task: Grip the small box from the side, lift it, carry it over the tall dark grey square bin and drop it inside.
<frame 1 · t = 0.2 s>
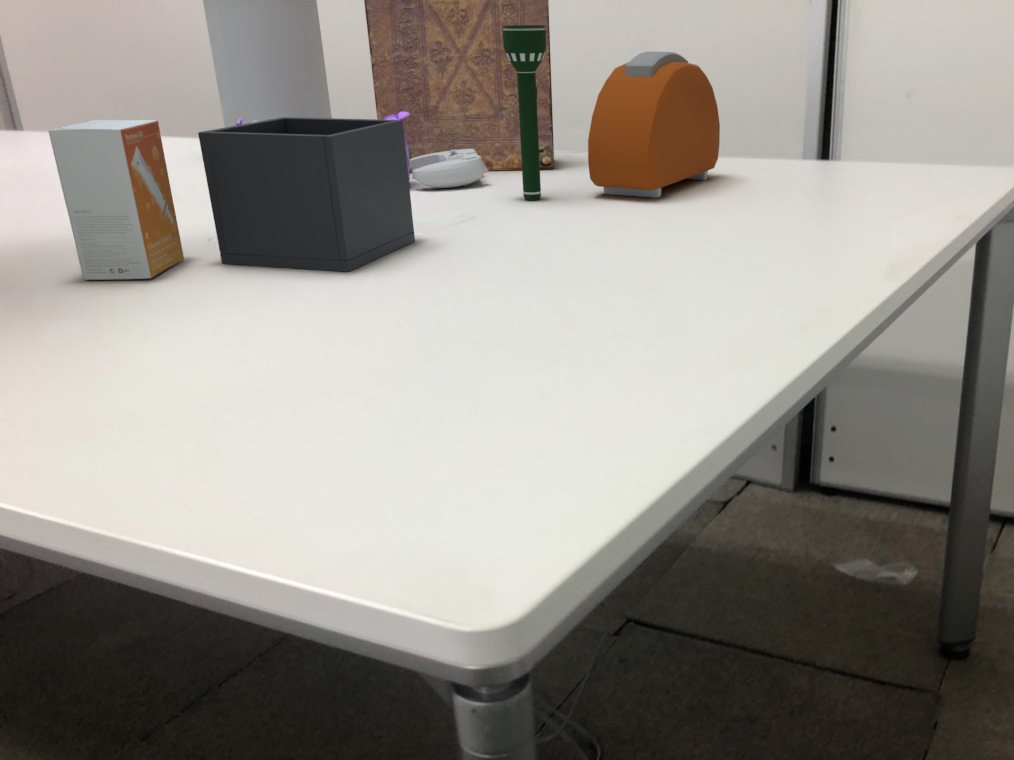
flashlight: (532, 200, 128), on the table
book: (470, 168, 153), on the table
pencil case: (331, 190, 136), on the table
orange toaster: (657, 188, 136), on the table
game controller: (449, 183, 140), on the table
dark grey square bin: (322, 251, 101), on the table
small box: (137, 272, 95), on the table
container: (283, 158, 164), on the table
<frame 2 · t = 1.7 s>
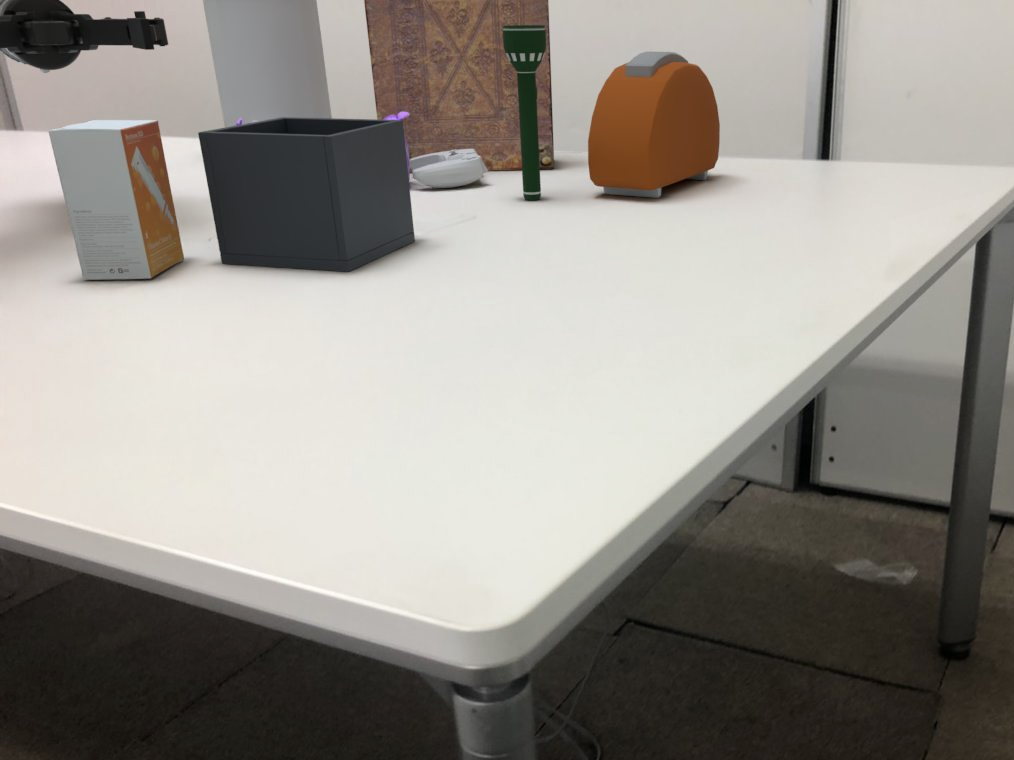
hand: (68, 36, 93), 20 cm above the table, tool horizontal, fingers open, 13 cm apart
nothing on the table moved.
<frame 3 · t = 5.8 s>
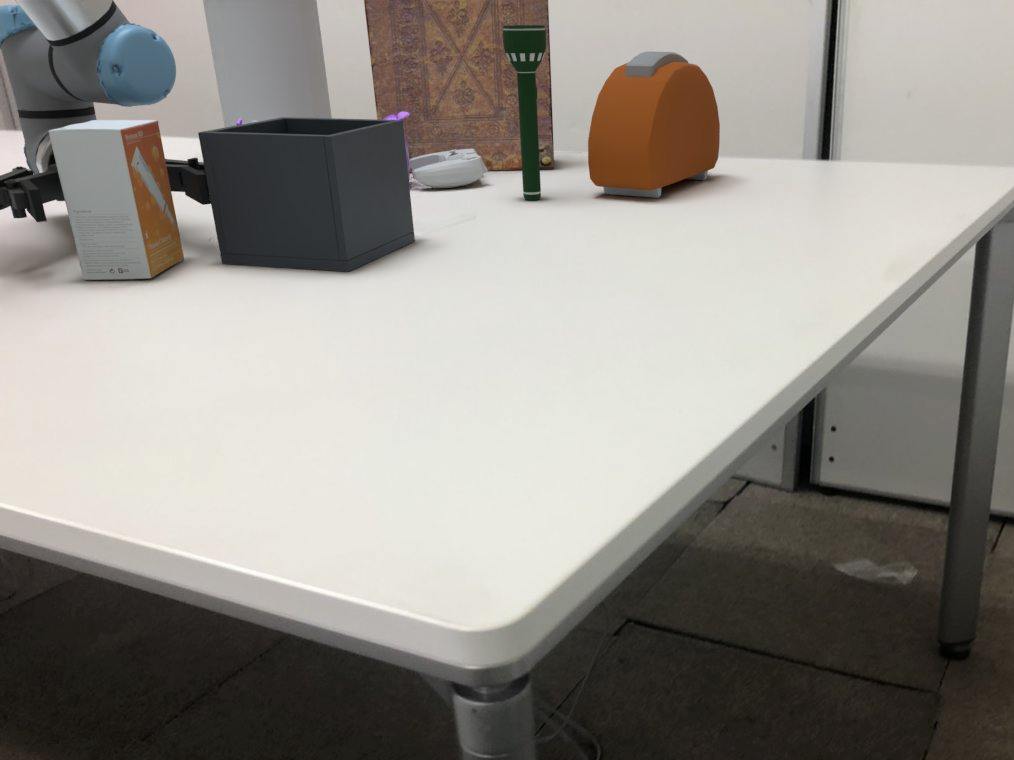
hand: (124, 197, 90), 7 cm above the table, tool horizontal, fingers open, 13 cm apart
nothing on the table moved.
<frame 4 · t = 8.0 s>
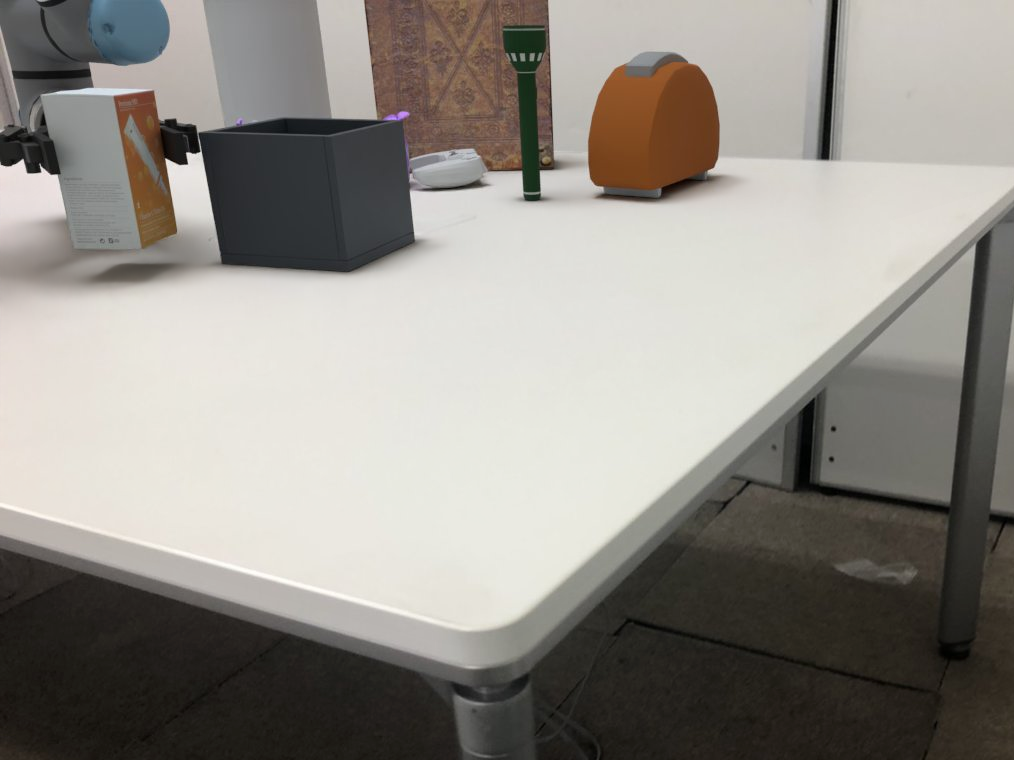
hand: (118, 153, 87), 11 cm above the table, tool horizontal, fingers closed on small box, 9 cm apart
small box: (128, 243, 93), point 3 cm above the table, touching gripper
everything else where it was.
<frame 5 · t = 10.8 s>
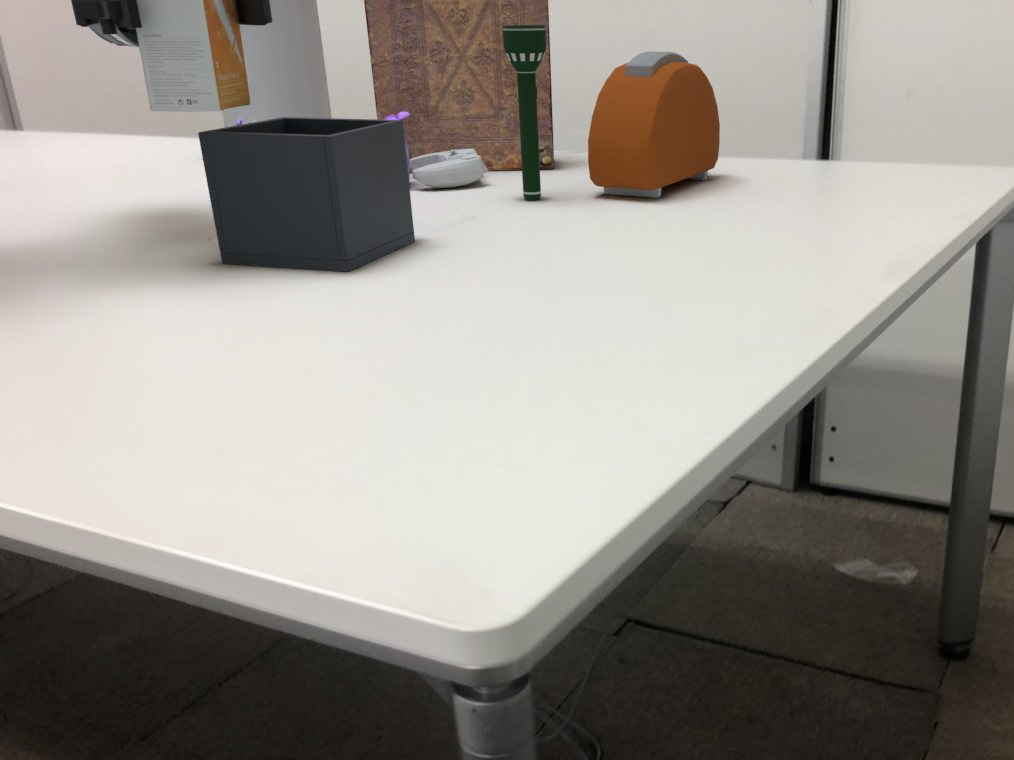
hand: (198, 9, 85), 22 cm above the table, tool horizontal, fingers closed on small box, 9 cm apart
small box: (203, 110, 92), point 14 cm above the table, touching gripper
everything else where it was.
when the fingers open (18 cm above the table, at t = 13.8 s): small box drops 9 cm, resting on dark grey square bin.
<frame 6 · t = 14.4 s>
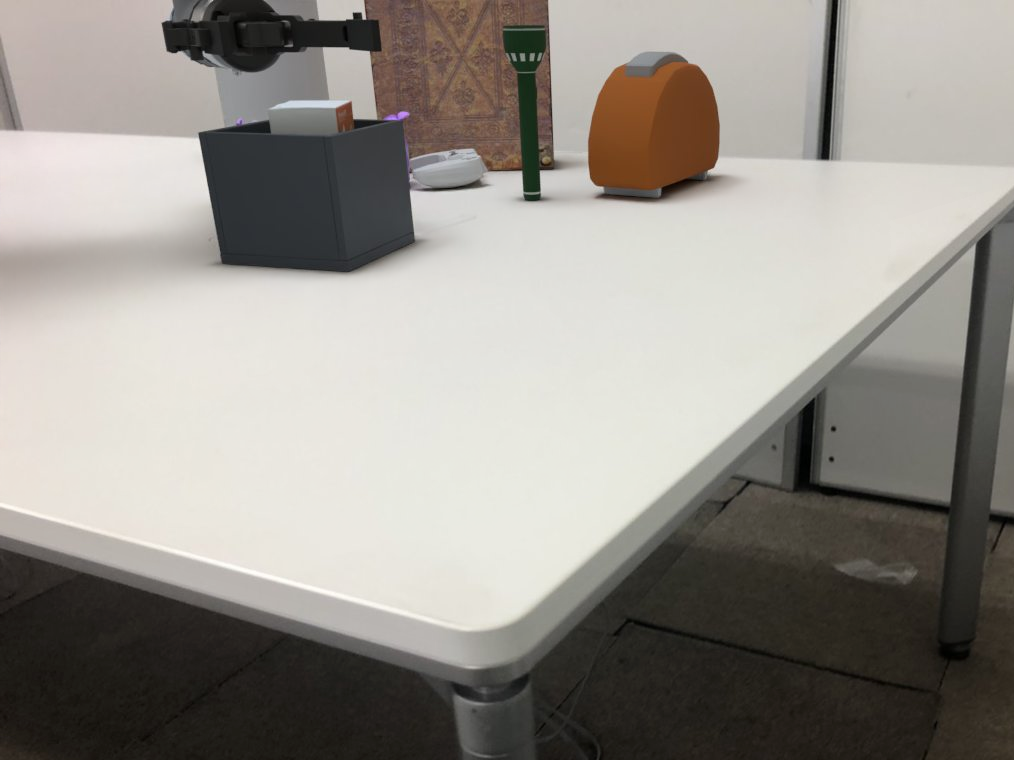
hand: (304, 37, 90), 20 cm above the table, tool horizontal, fingers open, 13 cm apart
small box: (329, 243, 101), point 1 cm above the table, touching dark grey square bin
everything else where it was.
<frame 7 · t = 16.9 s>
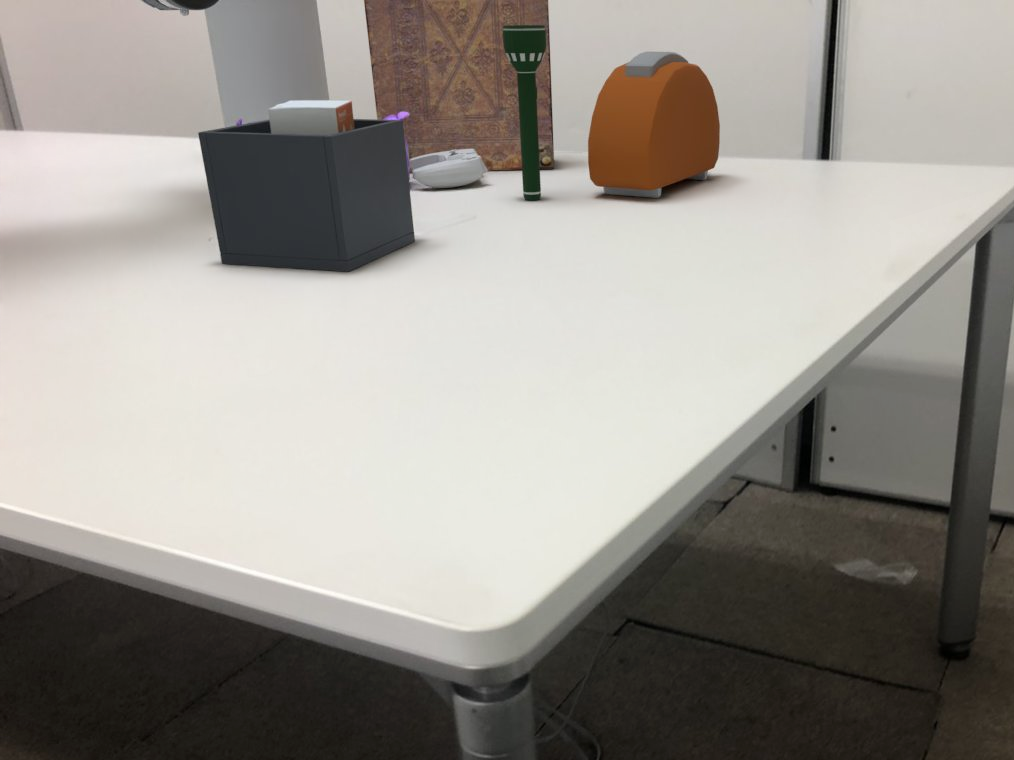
nothing on the table moved.
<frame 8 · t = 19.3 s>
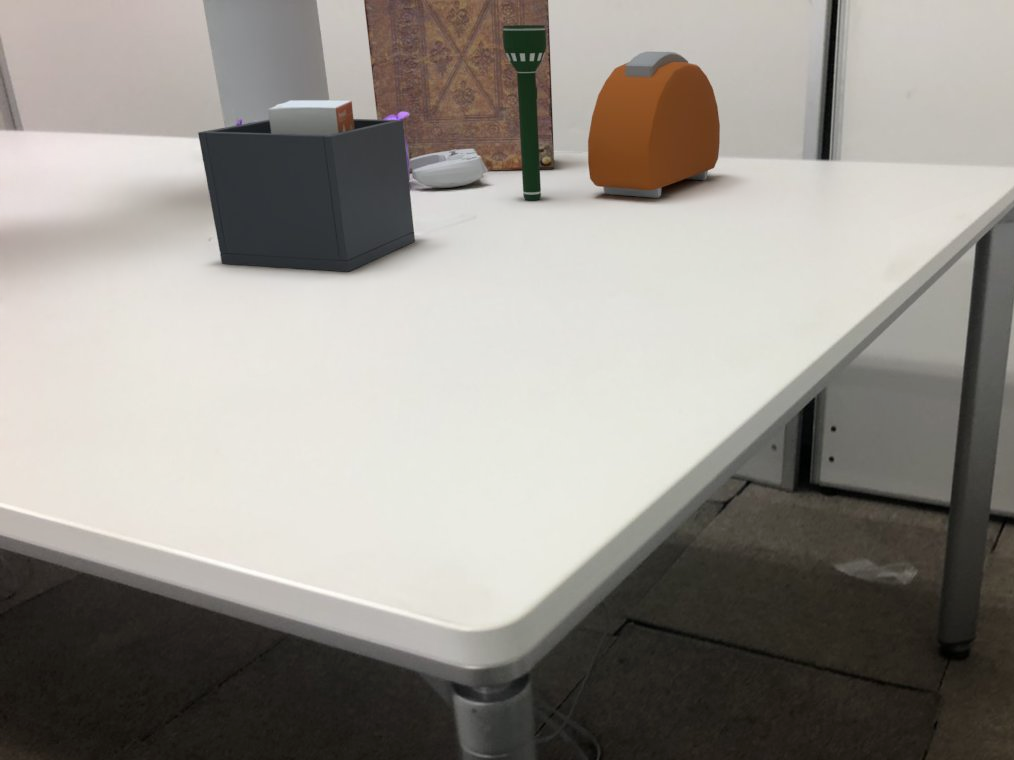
nothing on the table moved.
at the end: small box inside the target area in the dark grey square bin (0.8 cm from its centre), point 0.8 cm above the dark grey square bin's base; the gripper is holding nothing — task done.
